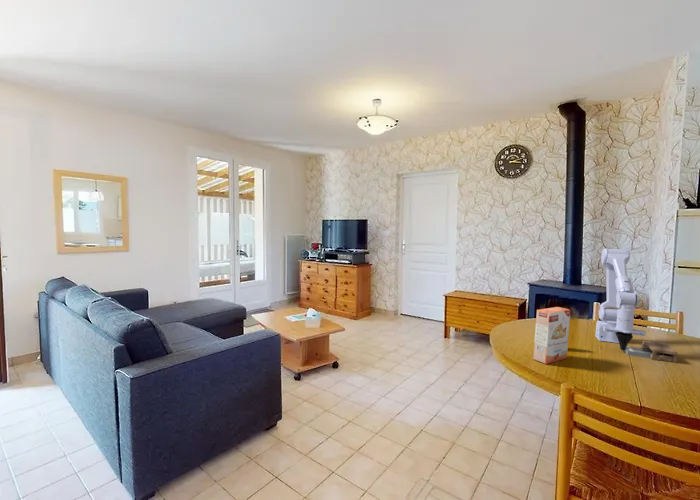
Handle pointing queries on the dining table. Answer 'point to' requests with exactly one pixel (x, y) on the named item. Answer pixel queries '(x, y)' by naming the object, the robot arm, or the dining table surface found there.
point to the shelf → (660, 351)
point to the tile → (638, 352)
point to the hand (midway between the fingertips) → (622, 349)
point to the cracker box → (551, 334)
